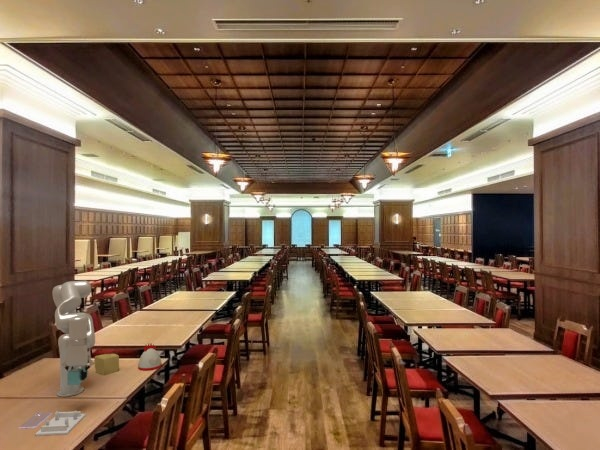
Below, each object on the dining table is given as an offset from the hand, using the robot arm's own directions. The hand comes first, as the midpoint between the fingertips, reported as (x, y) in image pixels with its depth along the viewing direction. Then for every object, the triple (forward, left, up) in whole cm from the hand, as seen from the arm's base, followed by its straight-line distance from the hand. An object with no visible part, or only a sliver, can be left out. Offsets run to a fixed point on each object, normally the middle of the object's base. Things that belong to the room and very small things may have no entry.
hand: (77, 379), depth 198 cm
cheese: (-55, -7, -15) cm, 57 cm away
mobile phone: (+10, -14, -15) cm, 23 cm away
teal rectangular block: (0, 0, -1) cm, 1 cm away
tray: (+16, 0, -15) cm, 22 cm away
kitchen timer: (-61, +17, -15) cm, 65 cm away
